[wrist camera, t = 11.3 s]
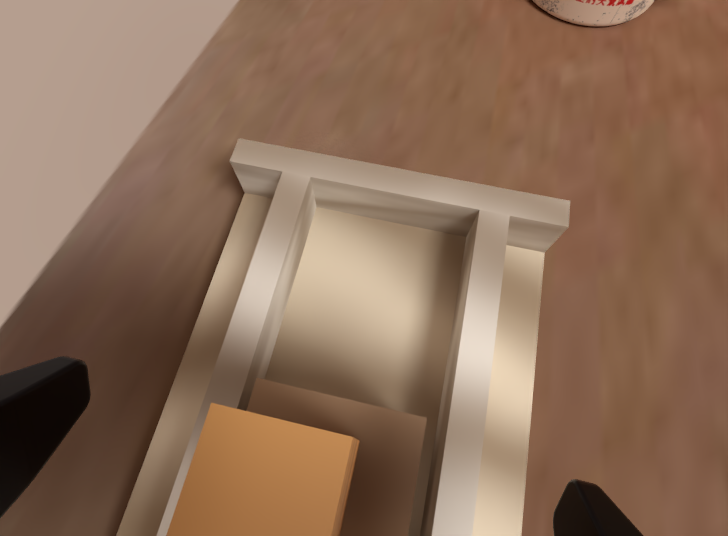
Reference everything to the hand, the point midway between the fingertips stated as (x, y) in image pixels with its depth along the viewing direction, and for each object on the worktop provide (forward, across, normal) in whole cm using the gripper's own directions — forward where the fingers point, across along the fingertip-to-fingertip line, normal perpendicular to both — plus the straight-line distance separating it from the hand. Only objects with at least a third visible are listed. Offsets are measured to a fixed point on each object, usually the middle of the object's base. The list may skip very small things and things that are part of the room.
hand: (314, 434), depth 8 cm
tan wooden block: (+6, 0, +8) cm, 10 cm away
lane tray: (+9, 0, +7) cm, 11 cm away
